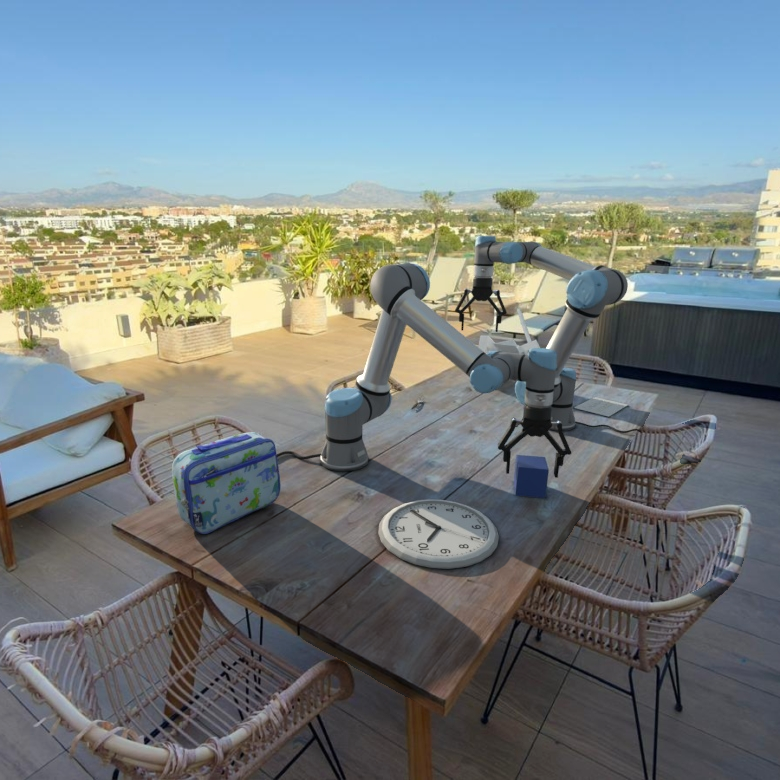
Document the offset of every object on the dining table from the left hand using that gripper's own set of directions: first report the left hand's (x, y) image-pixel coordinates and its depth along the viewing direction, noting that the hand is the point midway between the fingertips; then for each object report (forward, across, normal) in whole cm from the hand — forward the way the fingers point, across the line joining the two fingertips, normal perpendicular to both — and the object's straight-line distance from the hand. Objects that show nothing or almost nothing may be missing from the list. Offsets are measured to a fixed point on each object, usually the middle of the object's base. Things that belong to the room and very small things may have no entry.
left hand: (531, 473), depth 152 cm
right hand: (-29, -17, +69) cm, 76 cm away
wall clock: (+5, -25, -27) cm, 37 cm away
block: (+5, 0, 0) cm, 5 cm away
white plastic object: (+5, -3, +106) cm, 106 cm away
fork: (+5, -41, +69) cm, 81 cm away
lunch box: (+5, -79, -30) cm, 84 cm away
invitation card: (+5, +38, +84) cm, 92 cm away
